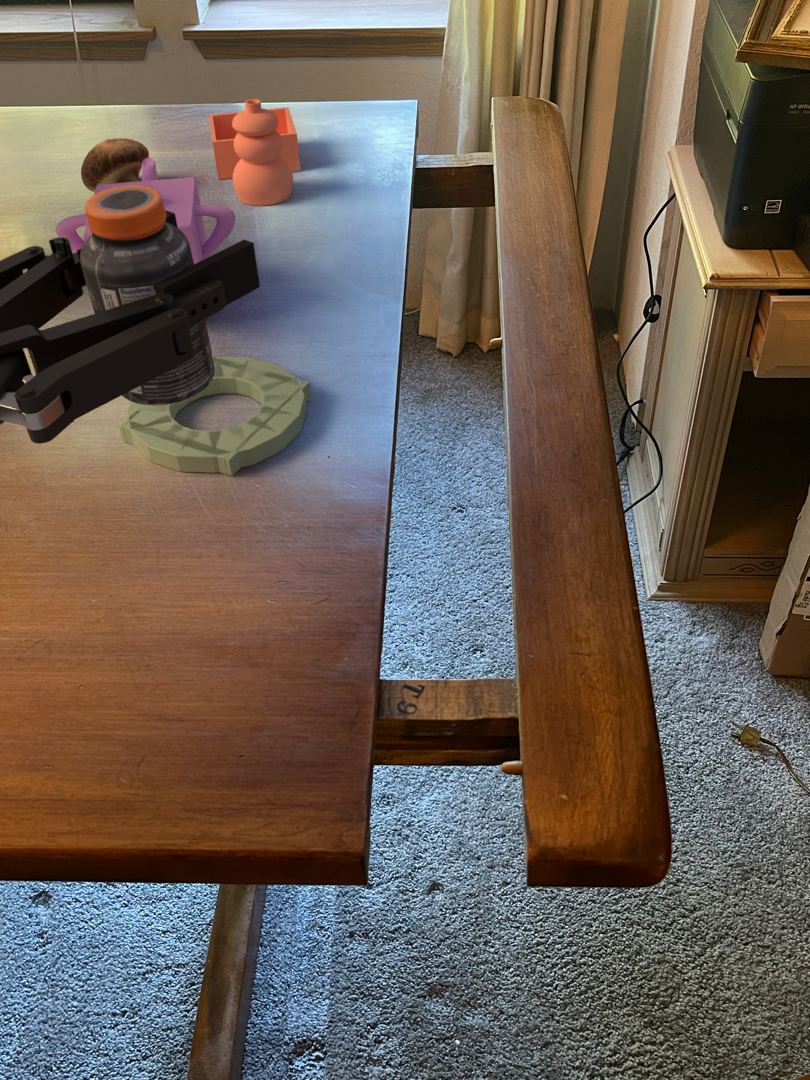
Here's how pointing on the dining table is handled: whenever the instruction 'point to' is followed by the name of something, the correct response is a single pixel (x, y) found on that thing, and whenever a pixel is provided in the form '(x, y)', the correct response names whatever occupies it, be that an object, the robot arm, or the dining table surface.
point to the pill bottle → (141, 277)
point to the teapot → (176, 199)
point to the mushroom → (113, 163)
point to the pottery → (256, 152)
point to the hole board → (232, 445)
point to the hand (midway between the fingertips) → (211, 248)
